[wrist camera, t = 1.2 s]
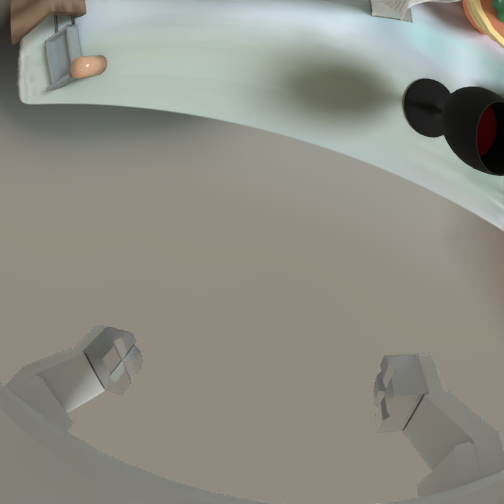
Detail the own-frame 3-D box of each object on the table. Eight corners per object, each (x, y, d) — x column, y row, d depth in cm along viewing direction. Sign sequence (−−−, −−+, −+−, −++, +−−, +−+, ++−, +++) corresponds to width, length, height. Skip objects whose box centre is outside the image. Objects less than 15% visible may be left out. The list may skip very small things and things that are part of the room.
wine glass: (405, 136, 38) (466, 182, 22) (400, 76, 32) (468, 85, 16) (455, 138, 36) (525, 184, 20) (453, 81, 30) (530, 101, 14)
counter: (43, -3, 24) (10, -3, 16) (82, -32, 22) (49, -38, 14) (55, 91, 39) (20, 102, 31) (95, 69, 37) (58, 75, 29)
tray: (53, 40, 32) (38, 41, 28) (76, 24, 30) (61, 24, 27) (61, 87, 39) (46, 91, 35) (84, 74, 37) (69, 77, 33)
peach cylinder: (89, 60, 36) (68, 62, 31) (105, 52, 35) (84, 53, 30) (92, 78, 38) (72, 81, 33) (108, 70, 37) (88, 73, 32)
